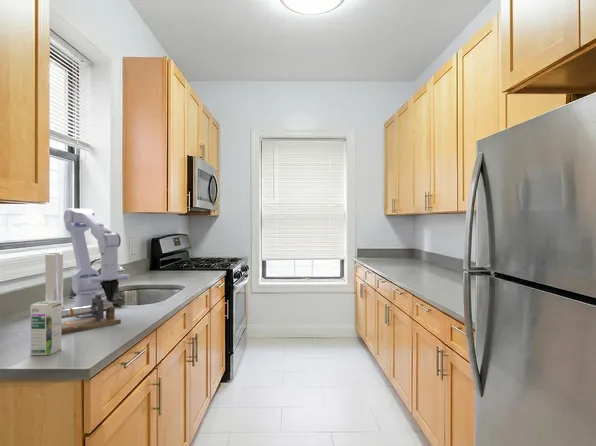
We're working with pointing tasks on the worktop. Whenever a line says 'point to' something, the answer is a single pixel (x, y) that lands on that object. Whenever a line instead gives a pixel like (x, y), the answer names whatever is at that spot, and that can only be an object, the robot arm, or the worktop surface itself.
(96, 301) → the grey pipe bracket
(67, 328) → the pipe stand
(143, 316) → the worktop surface
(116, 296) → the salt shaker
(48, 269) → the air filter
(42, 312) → the syrup box
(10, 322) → the worktop surface
